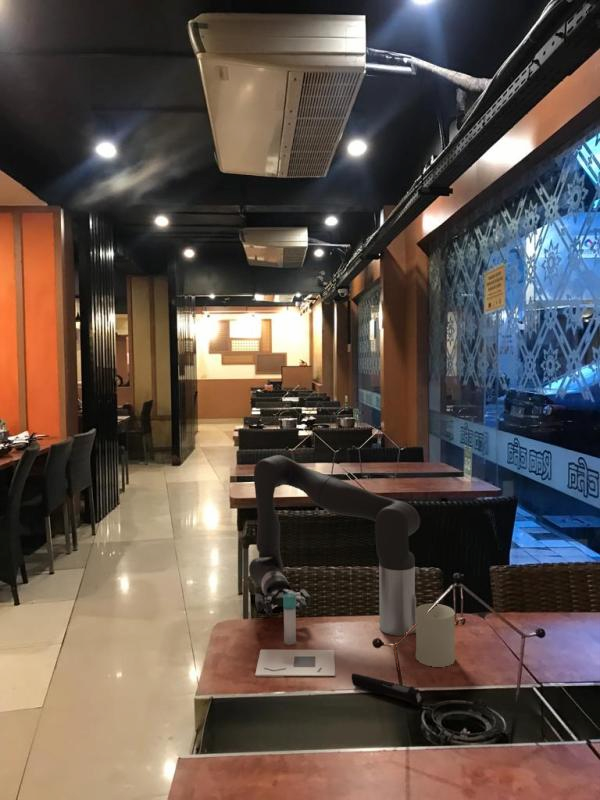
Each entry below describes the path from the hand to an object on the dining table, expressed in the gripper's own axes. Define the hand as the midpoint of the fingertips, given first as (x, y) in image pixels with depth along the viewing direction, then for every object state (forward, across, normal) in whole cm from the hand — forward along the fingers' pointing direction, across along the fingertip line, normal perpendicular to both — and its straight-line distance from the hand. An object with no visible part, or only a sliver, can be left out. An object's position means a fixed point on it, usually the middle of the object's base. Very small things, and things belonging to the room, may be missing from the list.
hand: (287, 610), depth 155 cm
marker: (+3, 0, +7) cm, 8 cm away
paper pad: (+14, -1, +7) cm, 16 cm away
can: (+20, +32, +7) cm, 38 cm away
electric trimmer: (+32, +15, +8) cm, 36 cm away
